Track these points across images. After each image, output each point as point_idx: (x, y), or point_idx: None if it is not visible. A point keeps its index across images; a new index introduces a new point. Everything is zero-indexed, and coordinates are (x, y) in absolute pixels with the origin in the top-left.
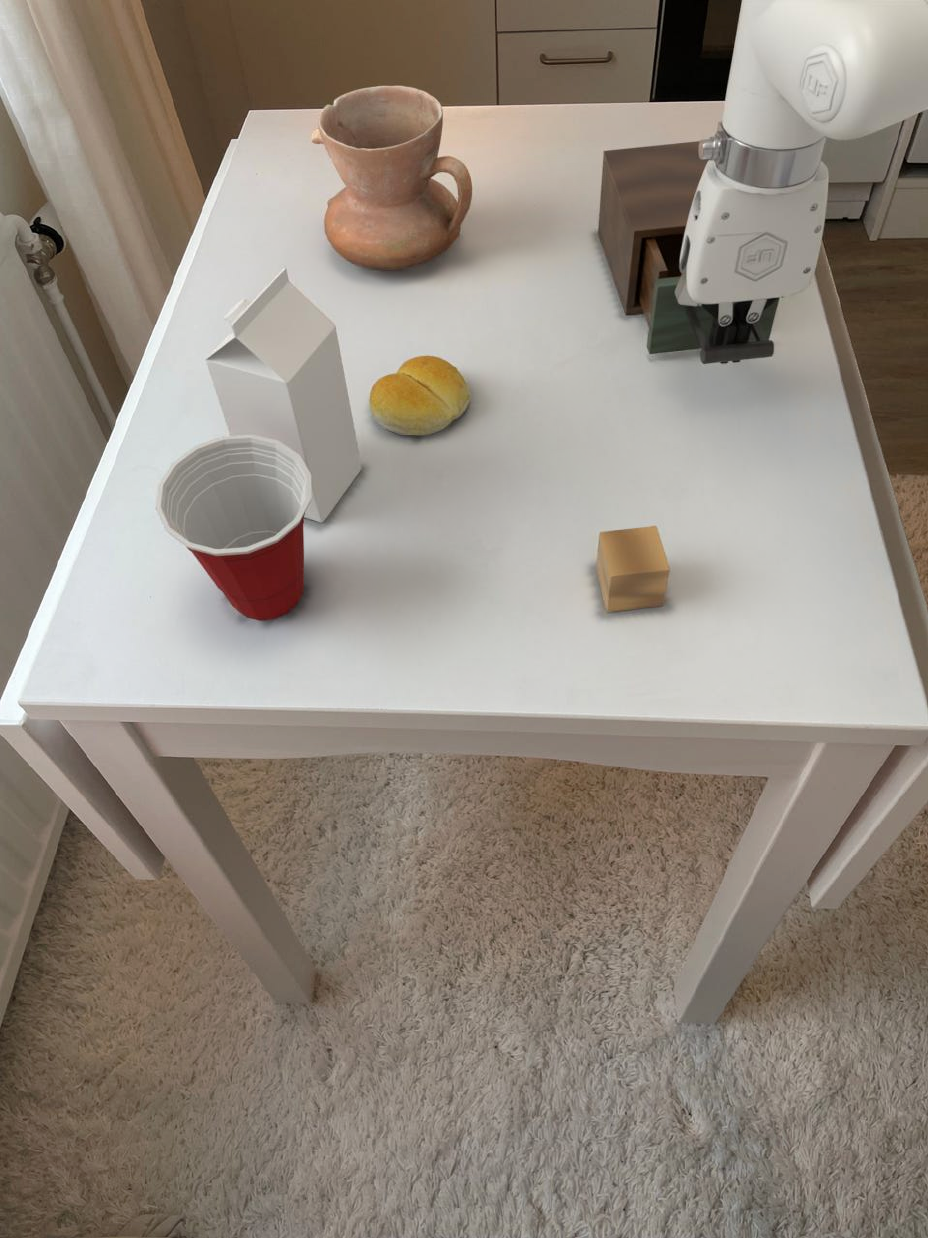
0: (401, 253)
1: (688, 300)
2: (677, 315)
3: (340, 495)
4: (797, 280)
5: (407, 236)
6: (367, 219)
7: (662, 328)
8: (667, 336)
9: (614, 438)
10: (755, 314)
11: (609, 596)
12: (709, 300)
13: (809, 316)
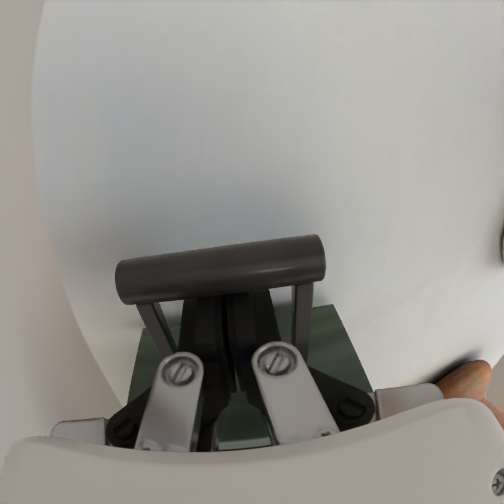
0: (475, 373)
1: (413, 399)
2: (316, 365)
3: None
4: (29, 495)
5: (471, 386)
6: (485, 389)
7: (332, 341)
8: (318, 330)
9: (418, 133)
10: (173, 378)
11: None
12: (444, 421)
13: (102, 359)
